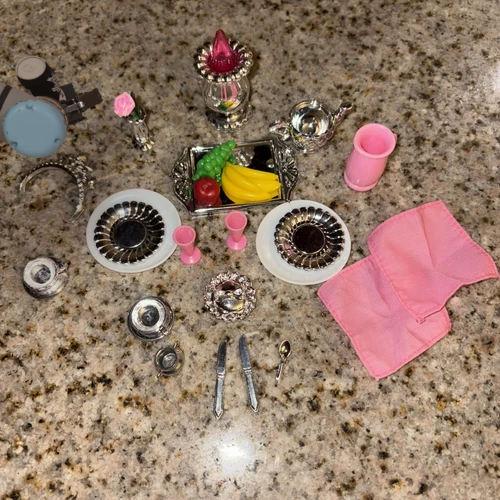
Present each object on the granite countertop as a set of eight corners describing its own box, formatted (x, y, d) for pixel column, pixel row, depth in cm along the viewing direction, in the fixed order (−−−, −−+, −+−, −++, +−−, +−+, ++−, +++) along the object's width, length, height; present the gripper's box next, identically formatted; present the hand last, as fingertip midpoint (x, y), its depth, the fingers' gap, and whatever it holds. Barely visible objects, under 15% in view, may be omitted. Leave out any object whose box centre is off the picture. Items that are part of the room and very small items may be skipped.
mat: (28, 99, 108) (26, 96, 107) (73, 85, 109) (71, 82, 108) (38, 134, 105) (36, 132, 104) (83, 120, 106) (82, 117, 105)
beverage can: (64, 121, 105) (41, 82, 93) (35, 117, 105) (8, 78, 94) (73, 96, 107) (51, 55, 96) (44, 93, 107) (19, 52, 96)
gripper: (-21, 174, 78) (0, 154, 97) (126, 114, 82) (118, 106, 101) (-48, 129, 75) (-21, 117, 94) (105, 69, 78) (101, 70, 98)
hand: (51, 112), depth 97 cm, fingers open, 13 cm apart
